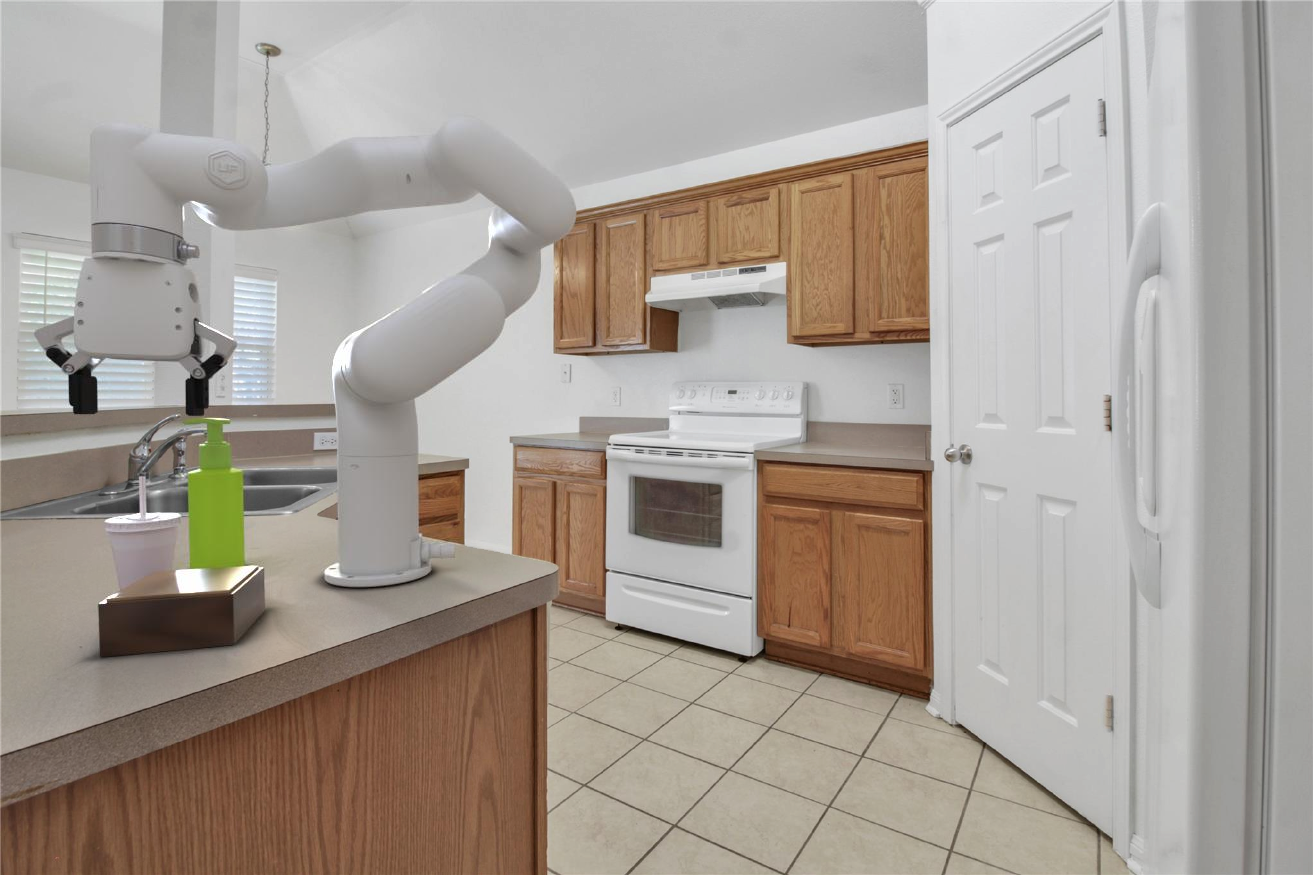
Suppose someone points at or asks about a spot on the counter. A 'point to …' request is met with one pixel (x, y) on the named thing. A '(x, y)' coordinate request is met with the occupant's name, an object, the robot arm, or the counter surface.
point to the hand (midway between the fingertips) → (141, 414)
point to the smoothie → (142, 541)
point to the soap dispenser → (215, 503)
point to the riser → (181, 610)
